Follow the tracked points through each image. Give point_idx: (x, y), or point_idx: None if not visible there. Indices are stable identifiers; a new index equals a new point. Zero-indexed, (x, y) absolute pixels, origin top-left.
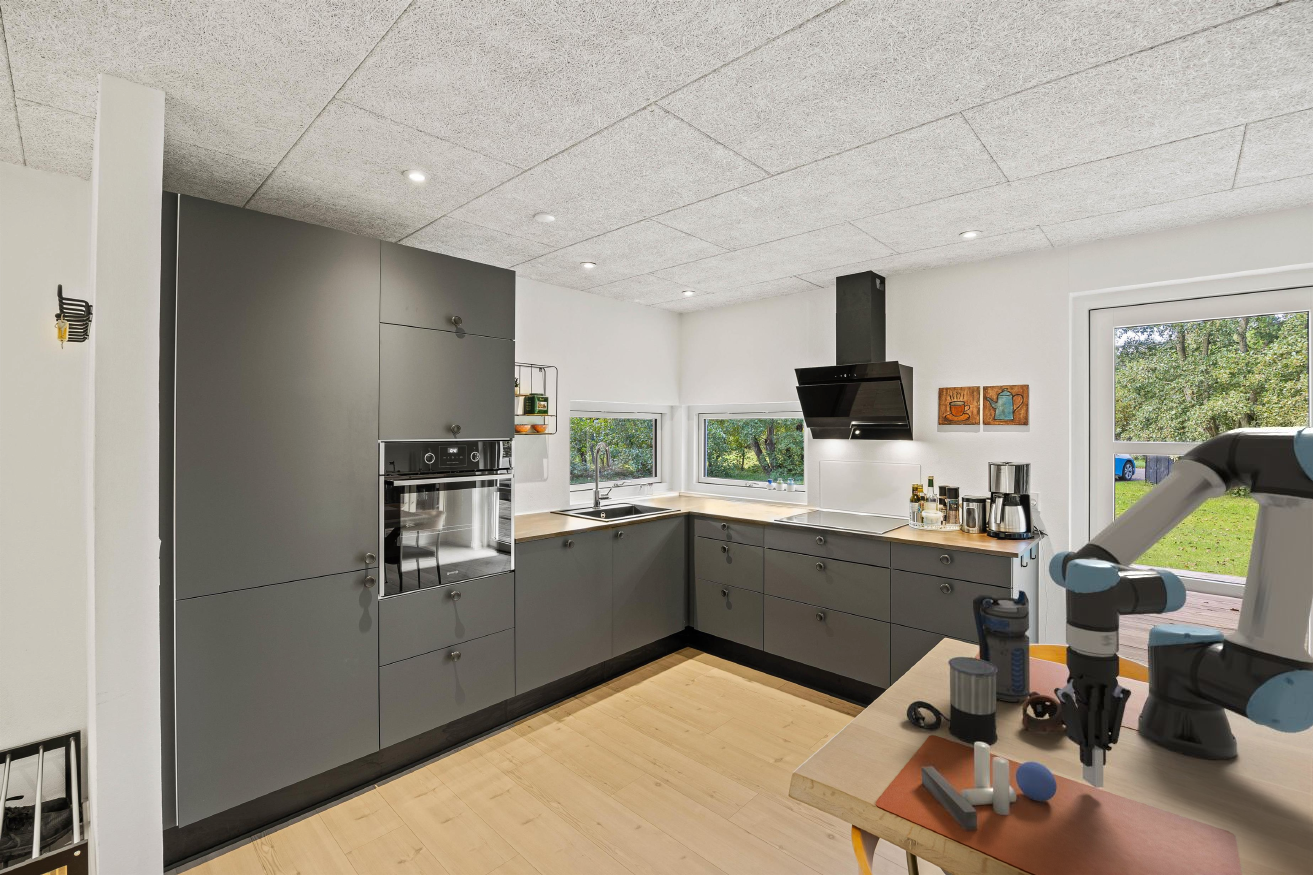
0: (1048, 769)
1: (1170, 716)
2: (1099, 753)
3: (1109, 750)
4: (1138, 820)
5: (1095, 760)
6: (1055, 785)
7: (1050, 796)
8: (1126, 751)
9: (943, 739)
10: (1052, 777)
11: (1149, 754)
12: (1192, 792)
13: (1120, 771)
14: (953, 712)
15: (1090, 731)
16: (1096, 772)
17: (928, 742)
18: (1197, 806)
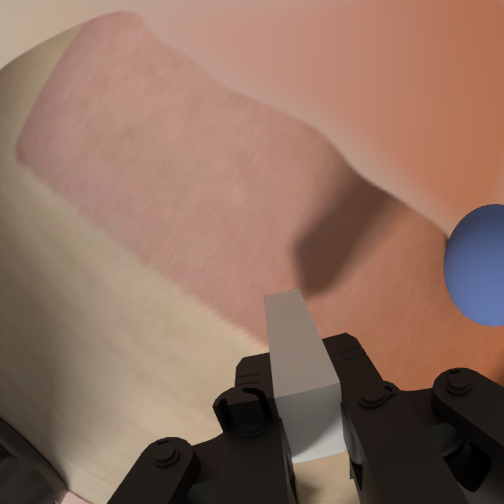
0: (498, 279)
1: (4, 486)
2: (301, 375)
3: (236, 388)
4: (217, 156)
5: (320, 345)
6: (478, 226)
7: (475, 209)
8: (98, 461)
9: None
10: (498, 239)
11: (61, 445)
12: (17, 321)
13: (136, 410)
14: None
15: (428, 487)
16: (303, 314)
17: None
18: (24, 261)
